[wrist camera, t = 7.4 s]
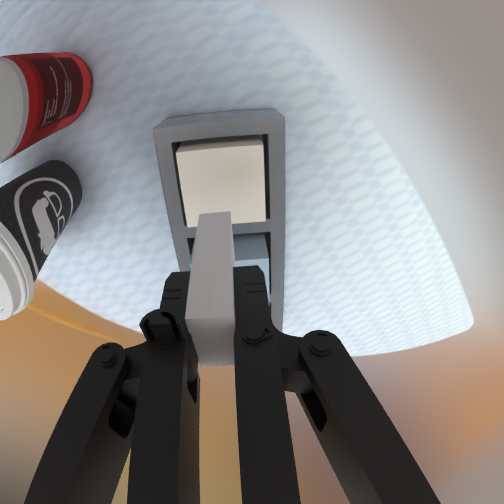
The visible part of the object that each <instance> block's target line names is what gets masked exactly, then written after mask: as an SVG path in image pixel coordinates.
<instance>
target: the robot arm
mask: <svg viewBox="0 0 504 504" xmlns="http://www.w3.org/2000/svg"><path fill="white" fill-rule="evenodd" d="M163 291H164V292H163V295H162V300H161V304H160V309H157V310H153V311H151V312H149V313H147V314H146V315H145V316H144V317H143V318H142V320H141V322H140V324H139V325H140V327H141V330H142V332H143V334H144V336H145V338H146V340H147V341H145V342H144V343H142V344H139V345H136V346H133V347H129V348H126V349H123V347H122V346H121V345H119V344H117V343H110V342H109V343H106V344H102V345H101V346H99V347H98V348H97V349H96V350H95V351H94V352H93V354H92V356H91V357H90V359H89V361H88V363H87V365H86V367H85V368H84V370H83V372H82V374H81V376H80V378H79V380H78V382H77V384H76V385H75V387H74V389H73V391H72V393H71V395H70V397H69V399H68V401H67V403H66V405H65V407H64V409H63V411H62V414H61V416H60V418H59V420H58V422H57V424H56V426H55V429H54V431H53V433H52V435H51V437H50V439H49V442H48V444H47V446H46V448H45V451H44V453H43V455H42V458H41V460H40V462H39V465H38V467H37V470H36V472H35V475H34V477H33V480H32V483H31V485H30V488H29V491H28V494H27V496H26V499H25V502H24V504H111V502H112V499H113V497H114V493H115V491H116V488H117V485H118V482H119V479H120V476H121V473H122V471H123V468H124V465H125V462H126V460H127V457H128V454H129V451H130V449H131V456H130V466H129V479H128V495H127V504H200V484H199V483H200V481H199V407H200V406H199V405H200V377H199V373H198V362H199V365H200V367H208V366H227V365H235V386H236V407H237V425H238V442H239V461H240V475H241V491H242V504H301V502H300V495H299V488H298V481H297V473H296V466H295V459H294V452H293V446H292V439H291V432H290V425H289V418H288V412H287V405H286V398H285V392H284V391H289V392H295V393H296V395H297V397H298V399H299V401H300V403H301V405H302V407H303V409H304V411H305V414H306V416H307V418H308V420H309V422H310V424H311V426H312V428H313V430H314V432H315V434H316V436H317V438H318V440H319V442H320V444H321V446H322V448H323V450H324V452H325V454H326V456H327V458H328V460H329V462H330V464H331V466H332V468H333V470H334V472H335V474H336V476H337V478H338V480H339V482H340V484H341V486H342V488H343V490H344V492H345V494H346V496H347V498H348V500H349V502H350V504H441V503H440V502H439V500H438V498H437V497H436V495H435V493H434V491H433V490H432V488H431V486H430V484H429V483H428V481H427V479H426V478H425V476H424V474H423V473H422V471H421V469H420V468H419V466H418V464H417V463H416V461H415V459H414V458H413V456H412V454H411V453H410V451H409V449H408V448H407V446H406V444H405V443H404V441H403V439H402V438H401V436H400V434H399V433H398V431H397V430H396V428H395V426H394V425H393V423H392V421H391V420H390V418H389V417H388V415H387V414H386V412H385V410H384V409H383V407H382V405H381V404H380V402H379V401H378V399H377V397H376V396H375V394H374V393H373V391H372V389H371V388H370V386H369V385H368V383H367V382H366V380H365V378H364V377H363V375H362V374H361V372H360V371H359V369H358V367H357V366H356V365H355V363H354V361H353V360H352V358H351V357H350V355H349V353H348V352H347V350H346V349H345V347H344V346H343V344H342V343H341V341H340V340H339V339H338V338H337V336H336V335H335V334H333V333H331V332H329V331H324V330H316V331H311V332H309V333H307V334H306V335H305V336H304V337H303V338H302V337H296V336H290V335H287V334H284V333H282V332H280V331H279V330H278V329H277V328H276V327H275V326H274V325H273V322H272V319H271V313H270V307H269V300H268V294H267V288H266V281H265V275H264V272H263V271H262V270H261V268H260V267H259V266H258V265H252V266H239V267H235V253H234V243H233V232H232V222H231V211H228V212H216V213H205V214H199V219H198V225H197V231H196V238H195V245H194V252H193V259H192V266H191V271H184V272H172V273H171V274H170V276H169V277H168V278H167V280H166V281H165V285H164V290H163Z"/></svg>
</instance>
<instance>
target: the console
mask: <svg viewBox="0 0 504 504" xmlns="http://www.w3.org/2000/svg"><path fill="white" fill-rule="evenodd" d="M153 133H154V140H155V146H156V153H157V159H158V165H159V171H160V176H161V182H162V187H163V193H164V198H165V203H166V208H167V213H168V218H169V223H170V228H171V233H172V237H173V242H174V246H175V251H176V255H177V260H178V264H179V268H180V272H184V271H191V267H190V261H191V255H192V249H193V243H194V238H195V237H196V231H197V227H189V228H188V226H187V221H186V215H185V209H184V203H183V197H182V191H181V185H180V178H179V171H178V165H177V158H176V152H177V150H178V148H179V147H180V145H181V143H182V142H183V141H187V140H196V139H205V138H216V137H227V136H241V135H257V134H259V136H260V138H261V141H262V143H263V150H264V179H265V213H266V221H264V222H250V223H237V224H232V232H233V234H246V233H259V232H264V236H265V241H266V246H267V251H268V257H269V307H270V313H271V319H272V322H273V325H274V326H275V327H276V328H277V329H278V330H279V331H280V332H282V325H283V296H284V257H285V117H284V116H282V115H281V114H280V113H279V112H278V111H277V110H276V109H254V110H237V111H224V112H213V113H203V114H194V115H186V116H178V117H171V118H166V119H165V120H164V121H162V122H161V123H160V124H159V125H158V126H156V127H155V128H154V129H153Z"/></svg>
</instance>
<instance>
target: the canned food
mask: <svg viewBox="0 0 504 504" xmlns="http://www.w3.org/2000/svg"><path fill="white" fill-rule="evenodd" d="M91 86H92V81H91V74H90V71H89V69H88V67H87V65H86V64H85V63H84V62H83V61H82V60H81V59H80V58H79V57H77V56H76V55H74V54H71V53H67V52H55V53H32V54H19V55H9V56H2V57H0V163H2V162H4V161H6V160H8V159H9V158H11V157H13V156H15V155H16V154H18V153H19V152H21V151H23V150H24V149H26V148H28V147H30V146H31V145H33V144H35V143H37V142H38V141H40V140H42V139H44V138H46V137H47V136H49V135H51V134H53V133H55V132H57V131H59V130H61V129H63V128H65V127H67V126H68V125H70V124H71V123H72V122H73V121H75V120H76V119H77V117H78V116H79V115H80V114H81V113H82V111H83V110H84V108H85V106H86V105H87V102H88V100H89V97H90V93H91Z"/></svg>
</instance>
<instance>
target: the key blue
mask: <svg viewBox="0 0 504 504" xmlns="http://www.w3.org/2000/svg"><path fill="white" fill-rule="evenodd" d="M195 238H196V237H195ZM195 238H194V243H193V249H192V255H191V261H190V267H191V266H192V259H193V252H194V245H195ZM233 243H234V253H235V267H239V266H252V265H258V266H259V267H260V268H261V270H262V271H263V272H264V275H265V281H266V288H267V294H268V300H269V257H268V251H267V246H266V241H265V236H264V232H259V233H246V234H233Z"/></svg>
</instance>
